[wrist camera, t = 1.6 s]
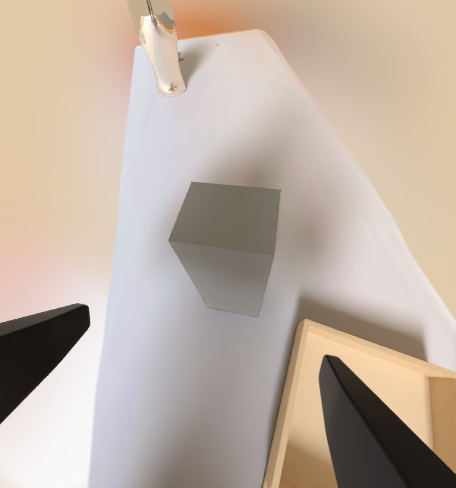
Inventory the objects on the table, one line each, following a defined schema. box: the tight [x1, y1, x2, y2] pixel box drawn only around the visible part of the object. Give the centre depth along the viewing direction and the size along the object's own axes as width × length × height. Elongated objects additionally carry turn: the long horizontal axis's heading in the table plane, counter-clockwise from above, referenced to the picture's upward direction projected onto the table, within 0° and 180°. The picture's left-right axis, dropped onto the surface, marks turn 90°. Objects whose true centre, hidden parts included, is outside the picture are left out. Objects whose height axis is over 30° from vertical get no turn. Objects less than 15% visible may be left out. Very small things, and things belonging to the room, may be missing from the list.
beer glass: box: [127, 0, 186, 97], centre depth 39 cm, size 7×7×15 cm
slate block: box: [168, 182, 281, 317], centre depth 16 cm, size 5×4×13 cm
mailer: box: [262, 319, 456, 488], centre depth 13 cm, size 11×17×3 cm, turn 159°
